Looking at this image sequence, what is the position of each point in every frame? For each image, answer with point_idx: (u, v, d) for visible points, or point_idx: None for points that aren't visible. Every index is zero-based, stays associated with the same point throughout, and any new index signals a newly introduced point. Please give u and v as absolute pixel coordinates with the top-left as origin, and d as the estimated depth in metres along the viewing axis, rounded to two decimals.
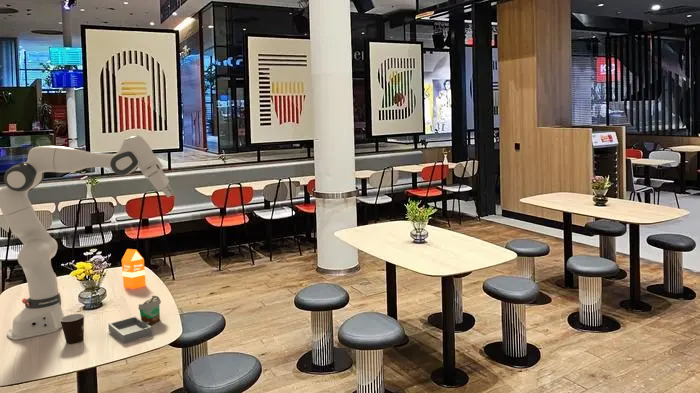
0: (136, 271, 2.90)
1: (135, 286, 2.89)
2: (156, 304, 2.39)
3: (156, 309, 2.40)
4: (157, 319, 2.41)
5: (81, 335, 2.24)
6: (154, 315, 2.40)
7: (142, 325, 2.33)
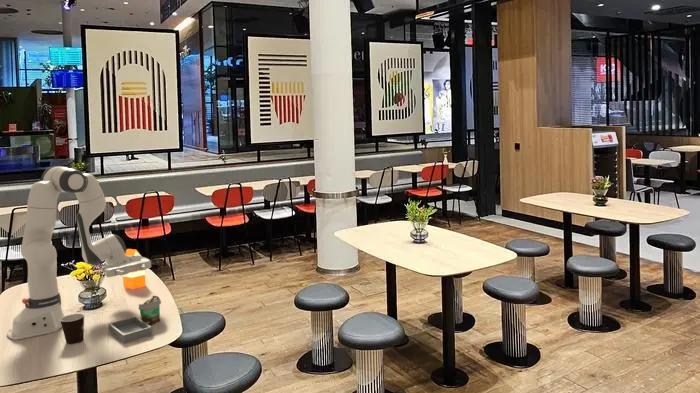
0: (136, 271, 2.90)
1: (135, 286, 2.89)
2: (156, 304, 2.39)
3: (156, 309, 2.40)
4: (157, 319, 2.41)
5: (81, 335, 2.24)
6: (154, 315, 2.40)
7: (142, 325, 2.33)
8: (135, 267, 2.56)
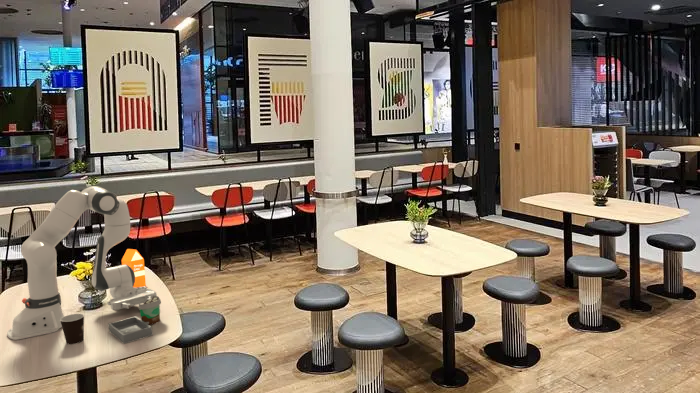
0: (136, 271, 2.90)
1: (135, 286, 2.89)
2: (156, 304, 2.39)
3: (156, 309, 2.40)
4: (157, 319, 2.41)
5: (81, 335, 2.24)
6: (154, 315, 2.40)
7: (142, 325, 2.33)
8: (141, 299, 2.56)
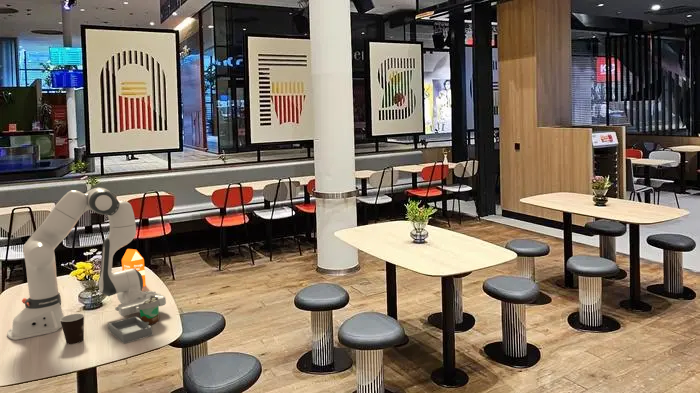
0: None
1: None
2: (156, 304, 2.39)
3: (156, 309, 2.40)
4: (157, 319, 2.41)
5: (81, 335, 2.24)
6: (154, 315, 2.40)
7: (142, 325, 2.33)
8: None
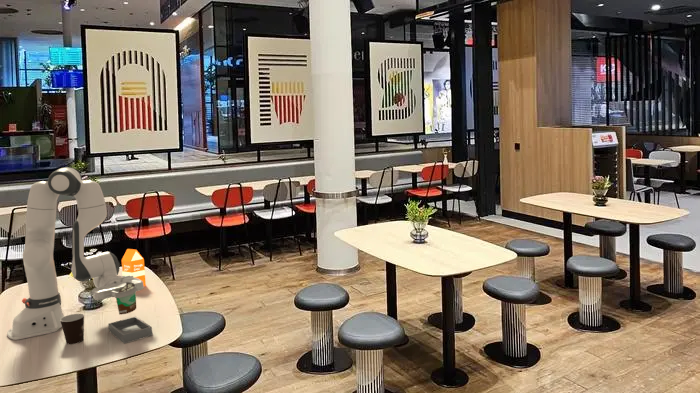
0: (136, 271, 2.90)
1: None
2: (133, 291, 2.27)
3: (133, 296, 2.28)
4: (134, 306, 2.30)
5: (81, 335, 2.24)
6: (131, 303, 2.28)
7: (142, 325, 2.33)
8: None
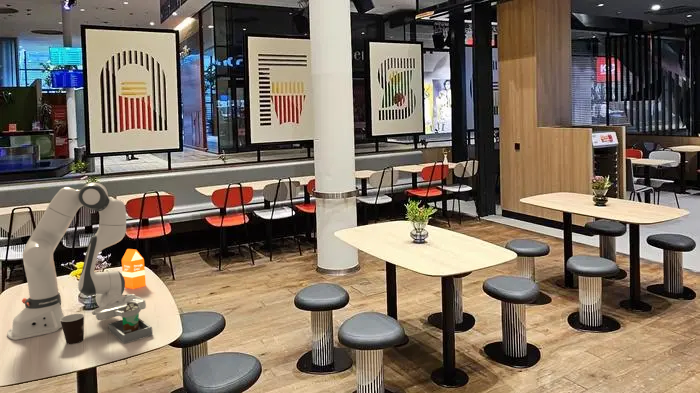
0: (136, 271, 2.90)
1: (135, 286, 2.89)
2: (138, 310, 2.30)
3: (137, 315, 2.30)
4: (137, 326, 2.32)
5: (81, 335, 2.24)
6: (136, 322, 2.30)
7: (142, 325, 2.33)
8: None
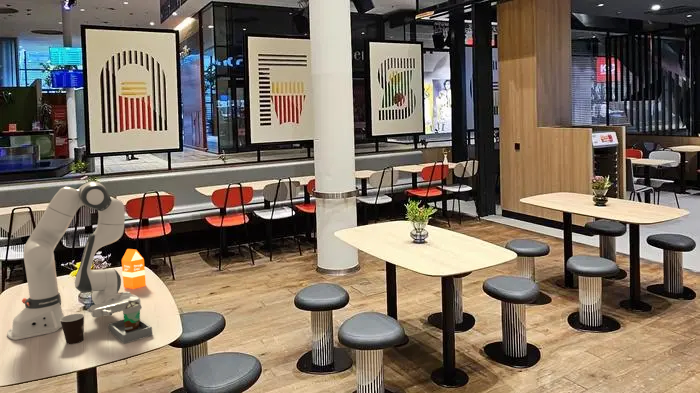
0: (136, 271, 2.90)
1: (135, 286, 2.89)
2: (139, 308, 2.32)
3: (139, 313, 2.33)
4: (139, 324, 2.34)
5: (81, 335, 2.24)
6: (137, 319, 2.32)
7: (142, 325, 2.33)
8: (124, 306, 2.41)
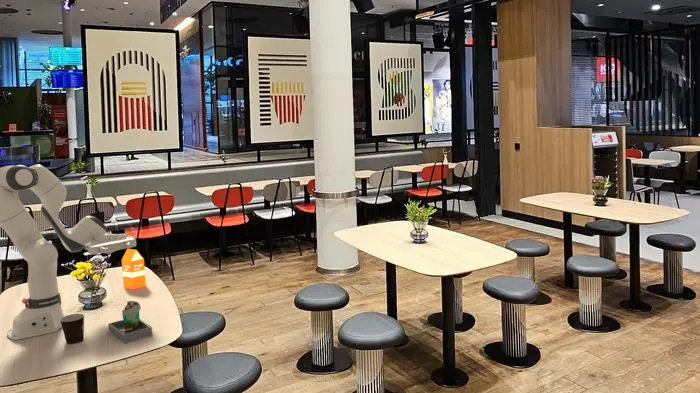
0: (136, 271, 2.90)
1: (135, 286, 2.89)
2: (139, 308, 2.32)
3: (138, 314, 2.33)
4: (139, 324, 2.34)
5: (81, 335, 2.24)
6: (137, 320, 2.32)
7: (142, 325, 2.33)
8: (120, 245, 2.50)
